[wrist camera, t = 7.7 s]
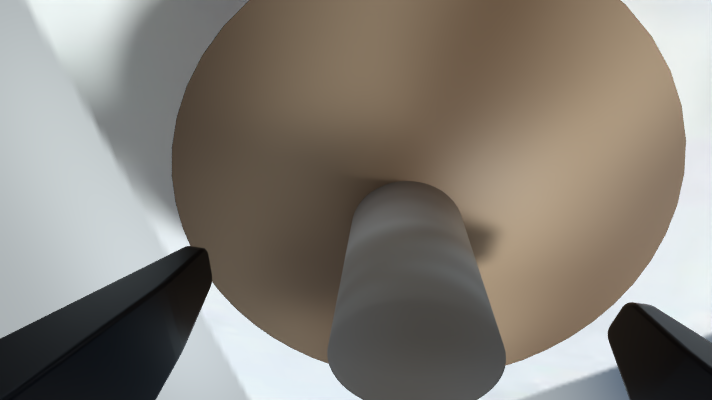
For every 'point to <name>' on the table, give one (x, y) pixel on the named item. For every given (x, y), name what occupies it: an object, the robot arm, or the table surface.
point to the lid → (428, 179)
